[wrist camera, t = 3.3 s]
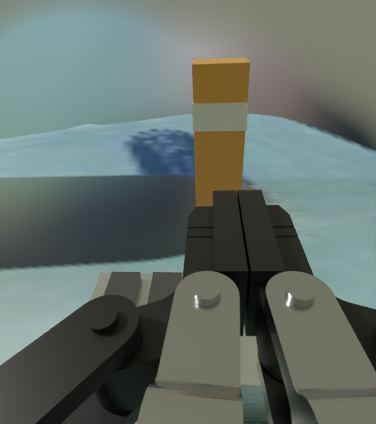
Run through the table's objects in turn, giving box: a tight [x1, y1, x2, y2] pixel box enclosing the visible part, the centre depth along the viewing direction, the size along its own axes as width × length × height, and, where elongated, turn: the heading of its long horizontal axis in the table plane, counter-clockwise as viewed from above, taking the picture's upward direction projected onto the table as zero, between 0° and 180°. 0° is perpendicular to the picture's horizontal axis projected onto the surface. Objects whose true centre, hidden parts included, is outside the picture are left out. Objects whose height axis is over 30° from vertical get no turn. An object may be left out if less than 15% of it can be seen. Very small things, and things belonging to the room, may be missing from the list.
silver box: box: [90, 272, 268, 422], centre depth 23 cm, size 14×9×6 cm, turn 87°
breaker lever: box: [192, 58, 250, 206], centre depth 21 cm, size 3×2×16 cm, turn 87°
